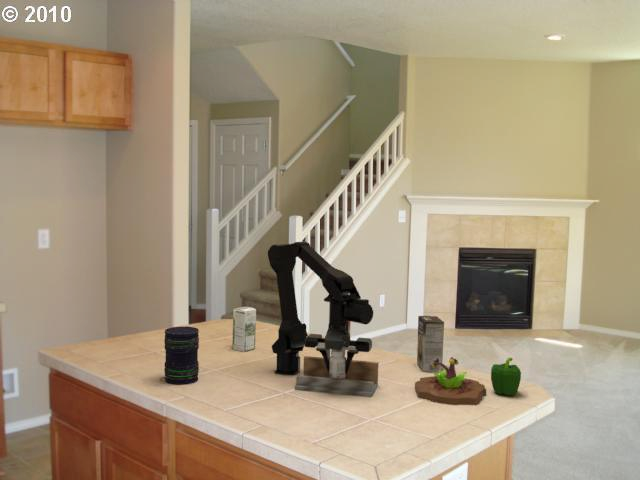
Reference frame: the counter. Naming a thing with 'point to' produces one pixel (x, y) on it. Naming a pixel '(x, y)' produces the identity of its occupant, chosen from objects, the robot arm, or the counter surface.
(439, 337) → the coffee box
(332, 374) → the pill bottle
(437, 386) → the plant
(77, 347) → the counter surface
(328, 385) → the cleat board
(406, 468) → the counter surface
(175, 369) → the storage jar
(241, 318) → the syrup box
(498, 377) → the bell pepper
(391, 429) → the counter surface
